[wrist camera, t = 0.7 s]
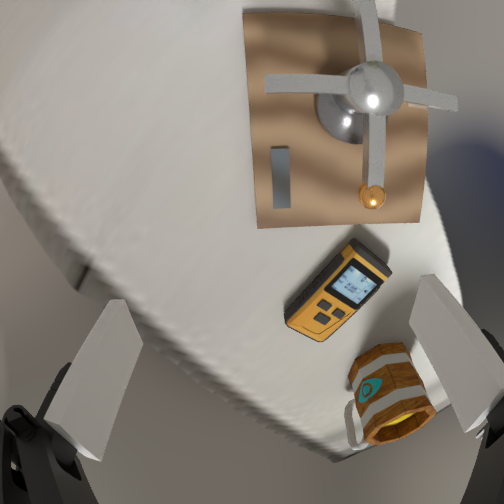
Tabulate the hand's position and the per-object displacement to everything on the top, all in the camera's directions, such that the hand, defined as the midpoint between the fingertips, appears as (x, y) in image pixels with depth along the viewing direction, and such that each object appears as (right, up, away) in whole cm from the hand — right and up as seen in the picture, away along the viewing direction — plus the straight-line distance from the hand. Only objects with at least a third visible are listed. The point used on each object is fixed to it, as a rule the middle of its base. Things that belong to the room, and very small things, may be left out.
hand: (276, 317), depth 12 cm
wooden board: (+10, +18, +17) cm, 27 cm away
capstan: (+10, +20, +14) cm, 27 cm away
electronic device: (+11, -3, +29) cm, 31 cm away
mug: (+23, -22, +38) cm, 49 cm away
